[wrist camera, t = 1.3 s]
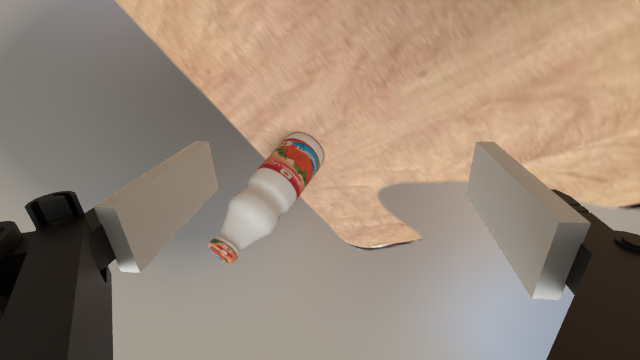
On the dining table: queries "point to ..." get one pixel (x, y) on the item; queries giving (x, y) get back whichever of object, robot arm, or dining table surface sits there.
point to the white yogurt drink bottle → (268, 195)
